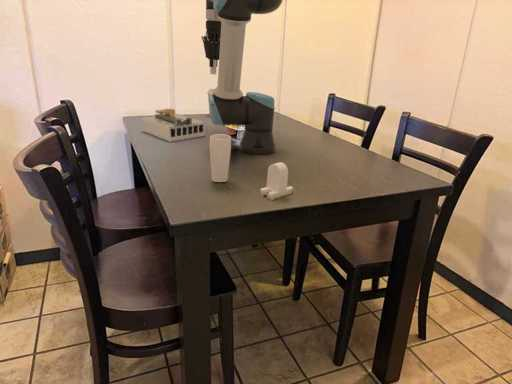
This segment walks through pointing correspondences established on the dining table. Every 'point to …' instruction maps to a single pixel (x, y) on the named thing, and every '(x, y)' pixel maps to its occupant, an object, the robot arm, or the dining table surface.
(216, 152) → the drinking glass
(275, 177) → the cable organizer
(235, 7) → the robot arm
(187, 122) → the strap
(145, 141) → the dining table surface
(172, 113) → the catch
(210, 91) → the coffee cup
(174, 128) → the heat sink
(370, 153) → the dining table surface
